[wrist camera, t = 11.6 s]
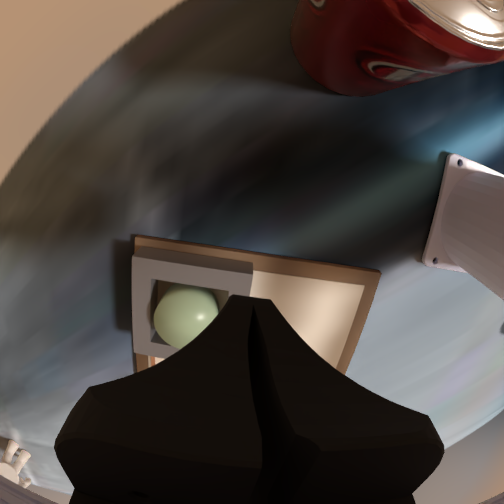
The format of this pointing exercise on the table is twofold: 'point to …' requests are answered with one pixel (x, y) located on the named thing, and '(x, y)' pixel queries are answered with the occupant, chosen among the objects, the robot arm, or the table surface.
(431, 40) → the soda can
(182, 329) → the button
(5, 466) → the hat wearing toy figure
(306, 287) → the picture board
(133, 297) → the button housing
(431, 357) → the table surface
